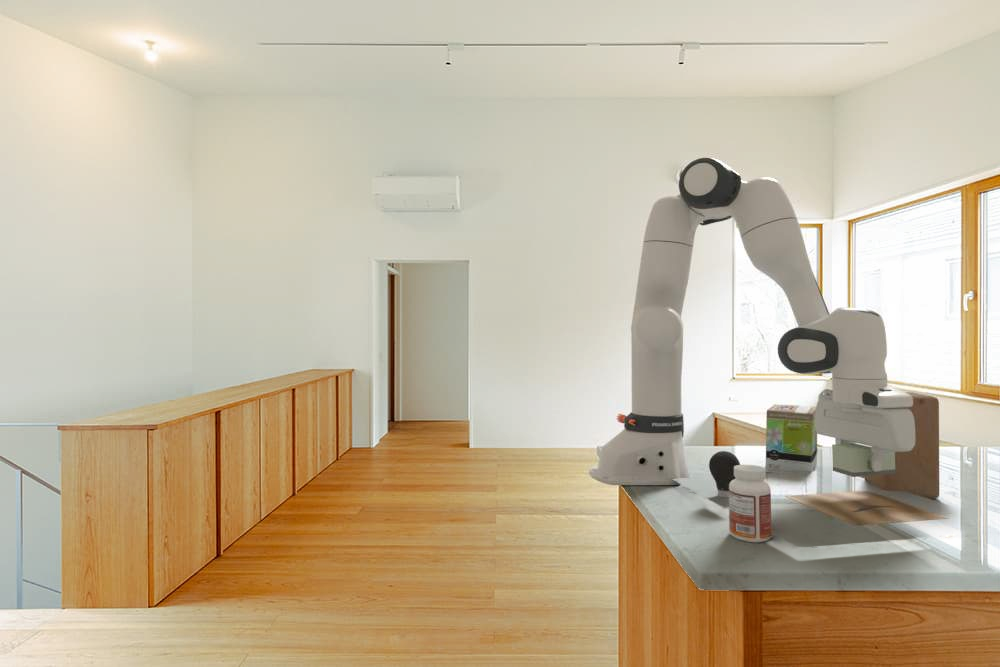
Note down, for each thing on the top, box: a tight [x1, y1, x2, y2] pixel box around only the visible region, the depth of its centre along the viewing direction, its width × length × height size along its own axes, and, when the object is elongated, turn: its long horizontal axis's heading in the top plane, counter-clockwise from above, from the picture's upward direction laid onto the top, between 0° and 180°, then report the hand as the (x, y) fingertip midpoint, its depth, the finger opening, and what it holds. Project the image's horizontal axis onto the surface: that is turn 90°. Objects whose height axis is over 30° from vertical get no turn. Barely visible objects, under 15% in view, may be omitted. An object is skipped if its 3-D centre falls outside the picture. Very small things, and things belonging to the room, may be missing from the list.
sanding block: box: [831, 443, 895, 478], centre depth 109 cm, size 9×5×5 cm, turn 101°
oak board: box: [785, 490, 950, 526], centre depth 103 cm, size 18×17×2 cm
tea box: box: [765, 403, 818, 474], centre depth 137 cm, size 15×10×15 cm
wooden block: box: [864, 391, 940, 500], centre depth 117 cm, size 10×10×20 cm
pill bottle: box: [728, 464, 772, 543], centre depth 92 cm, size 6×6×11 cm
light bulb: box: [708, 450, 741, 499], centre depth 110 cm, size 6×6×10 cm
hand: (860, 466), depth 109 cm, fingers closed on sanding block, 5 cm apart
